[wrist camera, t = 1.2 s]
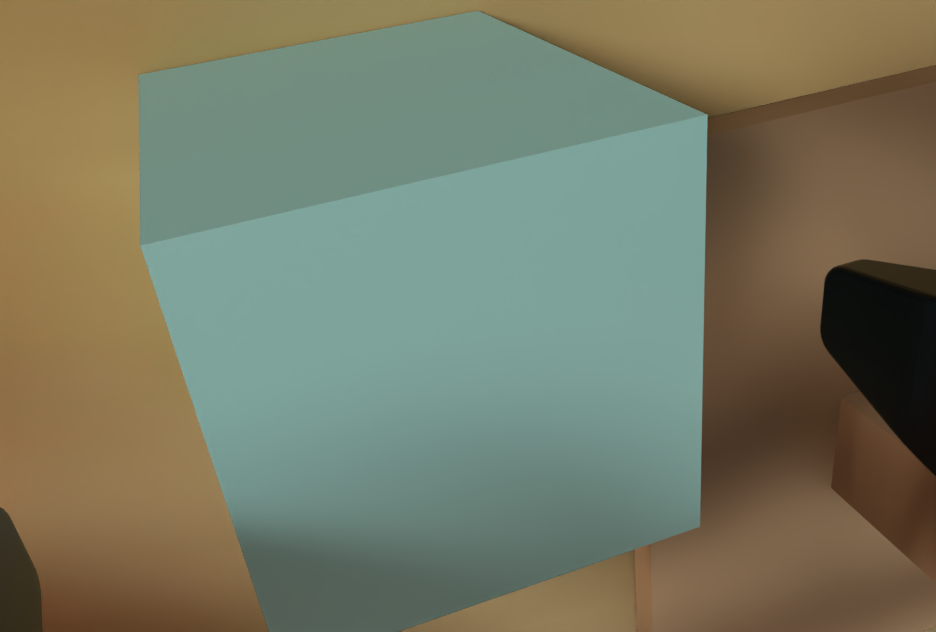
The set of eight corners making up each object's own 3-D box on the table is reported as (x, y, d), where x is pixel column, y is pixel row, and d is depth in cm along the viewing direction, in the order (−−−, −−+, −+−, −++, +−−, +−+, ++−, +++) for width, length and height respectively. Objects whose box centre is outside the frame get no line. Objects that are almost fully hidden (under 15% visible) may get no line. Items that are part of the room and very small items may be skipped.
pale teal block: (509, 299, 16) (699, 526, 11) (229, 374, 15) (281, 671, 10) (478, 10, 14) (707, 114, 8) (138, 74, 13) (139, 245, 7)
